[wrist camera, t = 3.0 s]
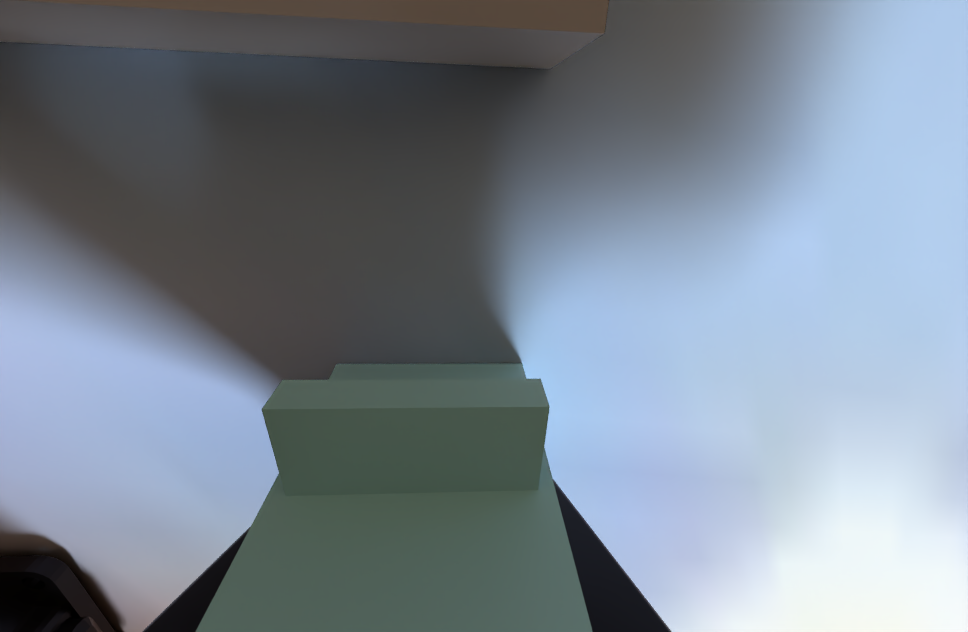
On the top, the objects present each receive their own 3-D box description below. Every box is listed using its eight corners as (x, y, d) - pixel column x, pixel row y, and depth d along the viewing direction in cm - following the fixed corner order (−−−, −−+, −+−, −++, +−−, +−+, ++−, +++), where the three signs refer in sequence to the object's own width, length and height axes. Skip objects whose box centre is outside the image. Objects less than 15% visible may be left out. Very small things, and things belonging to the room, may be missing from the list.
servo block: (363, 531, 11) (275, 893, 6) (326, 299, 8) (59, 638, 3) (507, 527, 11) (547, 870, 6) (527, 301, 8) (649, 613, 3)
